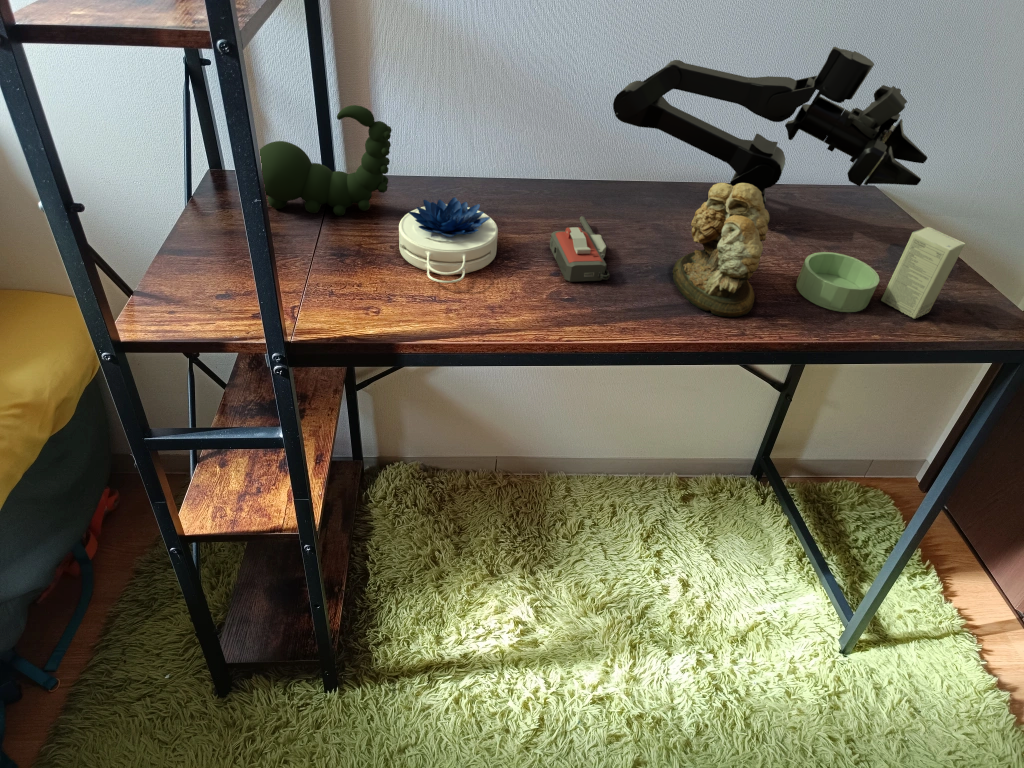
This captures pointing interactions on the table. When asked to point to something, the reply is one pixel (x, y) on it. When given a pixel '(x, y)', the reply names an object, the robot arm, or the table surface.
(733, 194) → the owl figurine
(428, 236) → the white round gift box
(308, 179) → the toy figurine
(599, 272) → the walkie-talkie
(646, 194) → the table surface
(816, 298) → the dish
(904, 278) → the cosmetic box
